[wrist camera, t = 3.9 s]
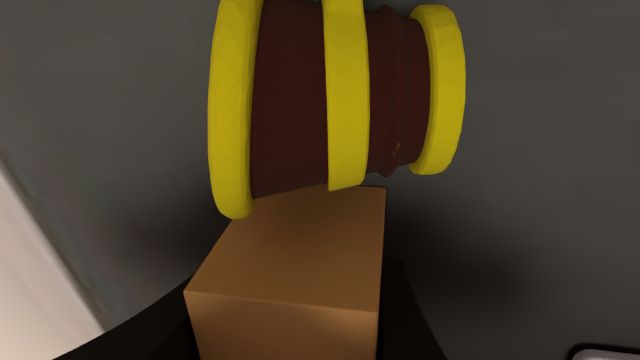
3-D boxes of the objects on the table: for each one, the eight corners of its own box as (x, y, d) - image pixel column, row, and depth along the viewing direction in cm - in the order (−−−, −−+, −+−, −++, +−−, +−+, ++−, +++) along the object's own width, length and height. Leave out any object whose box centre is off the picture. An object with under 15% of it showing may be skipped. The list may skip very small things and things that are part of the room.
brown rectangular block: (379, 308, 14) (370, 460, 9) (272, 296, 15) (218, 432, 10) (386, 186, 12) (378, 314, 7) (259, 179, 12) (181, 291, 8)
